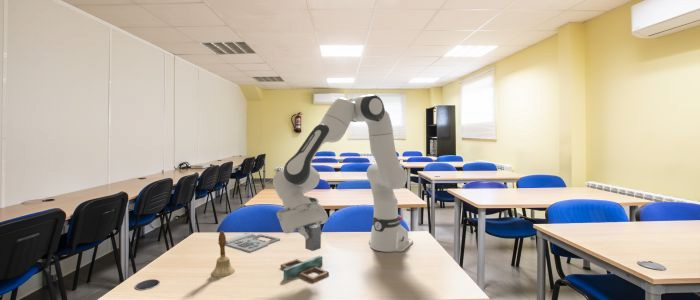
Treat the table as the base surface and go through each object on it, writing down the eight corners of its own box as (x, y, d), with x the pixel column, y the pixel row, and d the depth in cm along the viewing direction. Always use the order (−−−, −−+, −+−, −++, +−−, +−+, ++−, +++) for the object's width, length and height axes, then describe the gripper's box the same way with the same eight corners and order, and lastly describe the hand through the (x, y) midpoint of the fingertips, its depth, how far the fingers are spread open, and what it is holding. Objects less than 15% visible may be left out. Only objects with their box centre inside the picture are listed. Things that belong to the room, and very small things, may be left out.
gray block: (313, 245, 123) (313, 223, 122) (320, 248, 120) (320, 225, 120) (305, 248, 120) (305, 225, 119) (312, 251, 117) (312, 228, 117)
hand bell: (226, 278, 119) (226, 235, 118) (206, 276, 120) (205, 233, 120) (239, 268, 127) (238, 228, 126) (220, 267, 128) (219, 227, 128)
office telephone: (217, 239, 157) (250, 229, 173) (217, 244, 157) (250, 233, 173) (250, 247, 144) (282, 235, 161) (250, 253, 144) (282, 241, 161)
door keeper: (305, 258, 137) (305, 250, 137) (338, 270, 125) (338, 262, 124) (269, 271, 124) (269, 262, 124) (301, 287, 111) (301, 277, 111)
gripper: (278, 205, 116) (295, 238, 110) (320, 197, 131) (337, 226, 125) (271, 216, 119) (287, 248, 113) (312, 206, 134) (329, 235, 128)
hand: (314, 236), depth 119 cm, fingers closed on gray block, 4 cm apart
